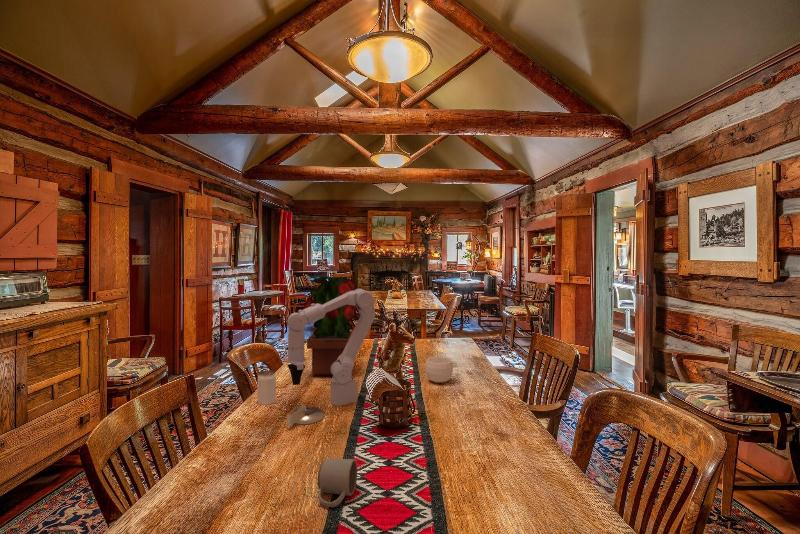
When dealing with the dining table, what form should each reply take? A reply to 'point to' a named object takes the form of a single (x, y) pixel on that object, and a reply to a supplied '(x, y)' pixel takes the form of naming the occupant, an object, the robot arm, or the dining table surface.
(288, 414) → the dial
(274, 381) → the can
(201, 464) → the dining table surface
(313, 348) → the potted plant
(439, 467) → the dining table surface
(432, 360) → the cup
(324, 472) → the ceramic mug
